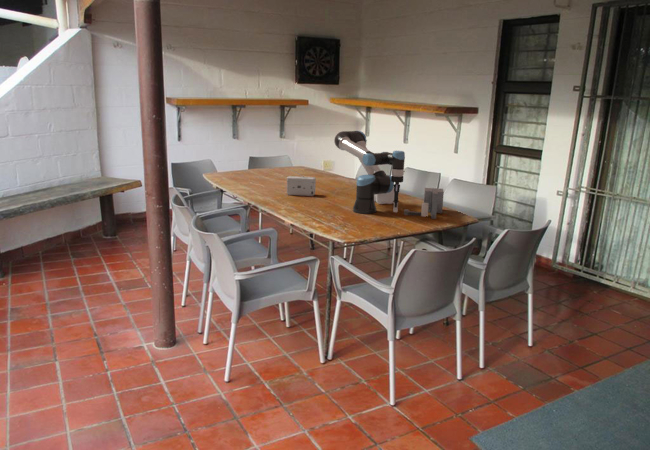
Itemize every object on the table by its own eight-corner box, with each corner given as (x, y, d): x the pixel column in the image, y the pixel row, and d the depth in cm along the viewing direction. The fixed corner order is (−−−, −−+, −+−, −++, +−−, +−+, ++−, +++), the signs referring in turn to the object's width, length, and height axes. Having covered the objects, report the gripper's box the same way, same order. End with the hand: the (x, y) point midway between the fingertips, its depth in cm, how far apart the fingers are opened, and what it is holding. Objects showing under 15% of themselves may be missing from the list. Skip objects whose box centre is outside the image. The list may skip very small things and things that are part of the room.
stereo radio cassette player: (315, 194, 392) (316, 167, 387) (314, 196, 384) (314, 169, 379) (287, 193, 394) (288, 166, 388) (285, 195, 386) (286, 168, 381)
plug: (403, 215, 335) (404, 202, 333) (403, 213, 339) (404, 201, 337) (427, 216, 333) (428, 204, 331) (427, 215, 337) (428, 202, 335)
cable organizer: (375, 204, 363) (376, 188, 360) (369, 201, 372) (370, 185, 369) (395, 203, 367) (396, 187, 364) (389, 200, 377) (390, 184, 374)
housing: (423, 218, 328) (425, 193, 324) (423, 208, 356) (424, 184, 352) (443, 219, 327) (445, 194, 322) (441, 209, 354) (443, 185, 350)
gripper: (403, 177, 325) (401, 214, 331) (403, 174, 337) (401, 210, 343) (391, 176, 326) (389, 213, 332) (392, 173, 338) (389, 209, 344)
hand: (395, 211), depth 337 cm, fingers closed
